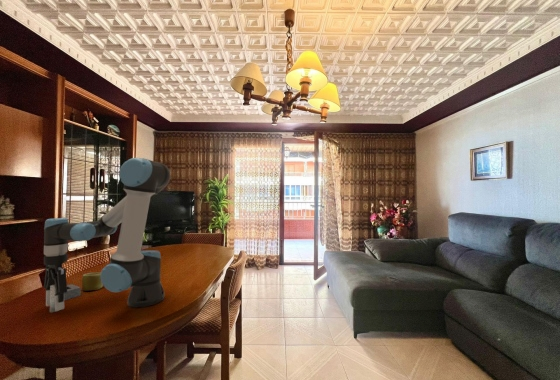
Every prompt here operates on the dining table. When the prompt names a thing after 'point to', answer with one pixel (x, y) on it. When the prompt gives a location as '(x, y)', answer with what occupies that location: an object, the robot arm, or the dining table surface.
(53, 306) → the pin
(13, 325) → the dining table surface
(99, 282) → the mug
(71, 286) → the grey l-shaped block
